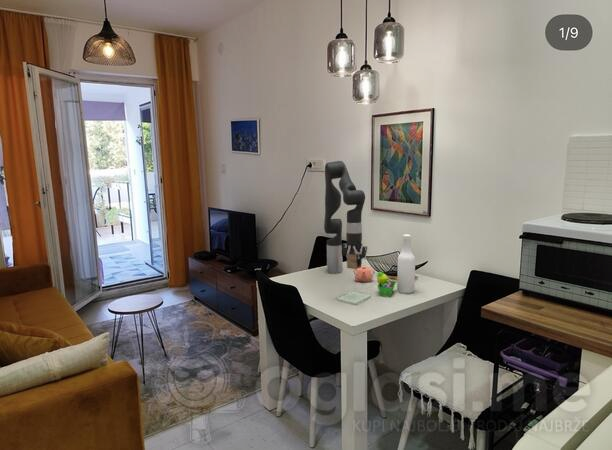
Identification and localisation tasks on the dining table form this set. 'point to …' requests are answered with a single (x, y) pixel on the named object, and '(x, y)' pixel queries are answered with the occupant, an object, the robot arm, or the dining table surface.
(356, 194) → the robot arm
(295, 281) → the dining table surface
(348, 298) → the sage board
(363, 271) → the teapot
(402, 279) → the alcohol
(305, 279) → the dining table surface
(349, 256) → the walnut block
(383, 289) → the fruit basket
